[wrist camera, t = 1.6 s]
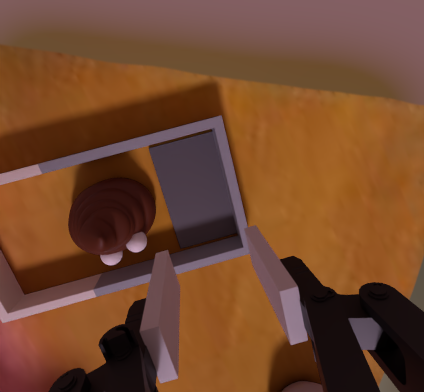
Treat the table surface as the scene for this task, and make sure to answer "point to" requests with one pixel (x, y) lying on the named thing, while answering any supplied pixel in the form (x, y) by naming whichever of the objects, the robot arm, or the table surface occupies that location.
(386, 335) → the robot arm
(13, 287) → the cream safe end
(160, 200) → the table surface
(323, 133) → the table surface
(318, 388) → the teacup
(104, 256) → the poop emoji
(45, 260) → the table surface
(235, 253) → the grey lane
